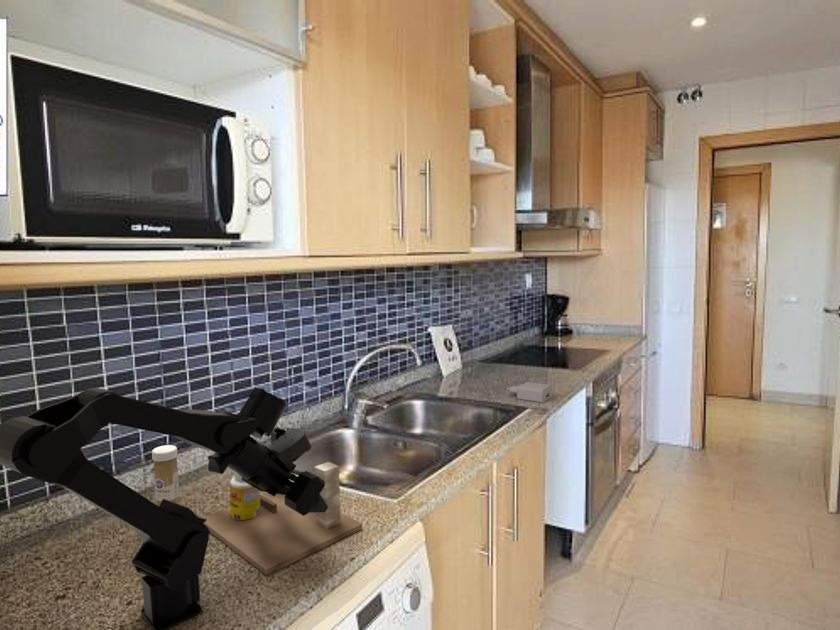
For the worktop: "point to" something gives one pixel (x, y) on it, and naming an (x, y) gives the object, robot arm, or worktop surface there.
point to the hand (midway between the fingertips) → (311, 501)
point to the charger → (532, 392)
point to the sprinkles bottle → (166, 474)
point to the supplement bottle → (243, 499)
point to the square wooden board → (285, 527)
